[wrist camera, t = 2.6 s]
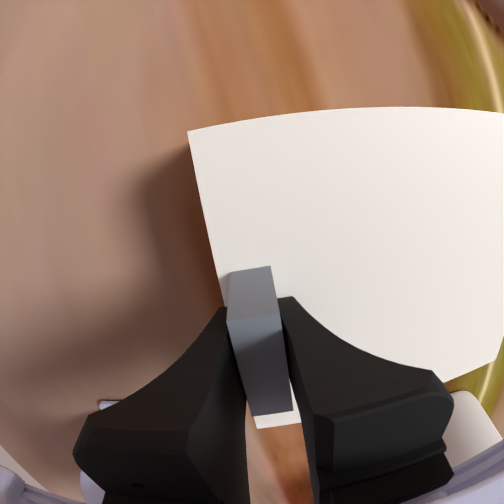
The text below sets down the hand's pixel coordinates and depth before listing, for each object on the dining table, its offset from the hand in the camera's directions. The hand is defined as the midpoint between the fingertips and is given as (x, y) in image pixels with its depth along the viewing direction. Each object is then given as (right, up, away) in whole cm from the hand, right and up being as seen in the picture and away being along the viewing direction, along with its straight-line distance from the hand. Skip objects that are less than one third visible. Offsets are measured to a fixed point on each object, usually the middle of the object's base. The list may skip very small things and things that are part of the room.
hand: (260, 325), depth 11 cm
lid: (+6, +1, +1) cm, 6 cm away
